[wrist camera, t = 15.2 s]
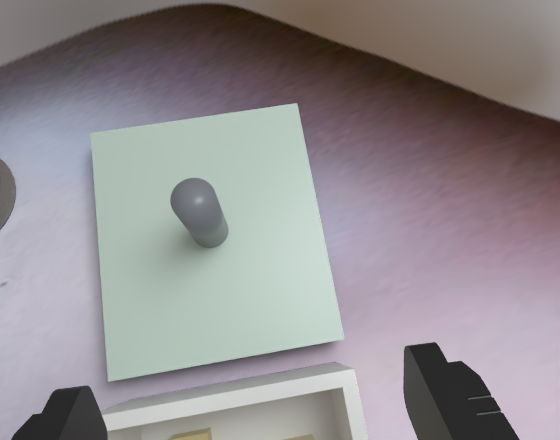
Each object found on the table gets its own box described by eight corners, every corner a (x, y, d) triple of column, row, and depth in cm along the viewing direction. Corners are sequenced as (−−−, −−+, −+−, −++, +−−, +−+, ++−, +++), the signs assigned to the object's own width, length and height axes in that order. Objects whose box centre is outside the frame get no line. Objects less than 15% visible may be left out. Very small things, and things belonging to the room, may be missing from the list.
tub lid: (295, 119, 35) (304, 41, 26) (338, 339, 31) (368, 339, 22) (103, 147, 34) (41, 77, 25) (121, 378, 30) (54, 396, 21)
